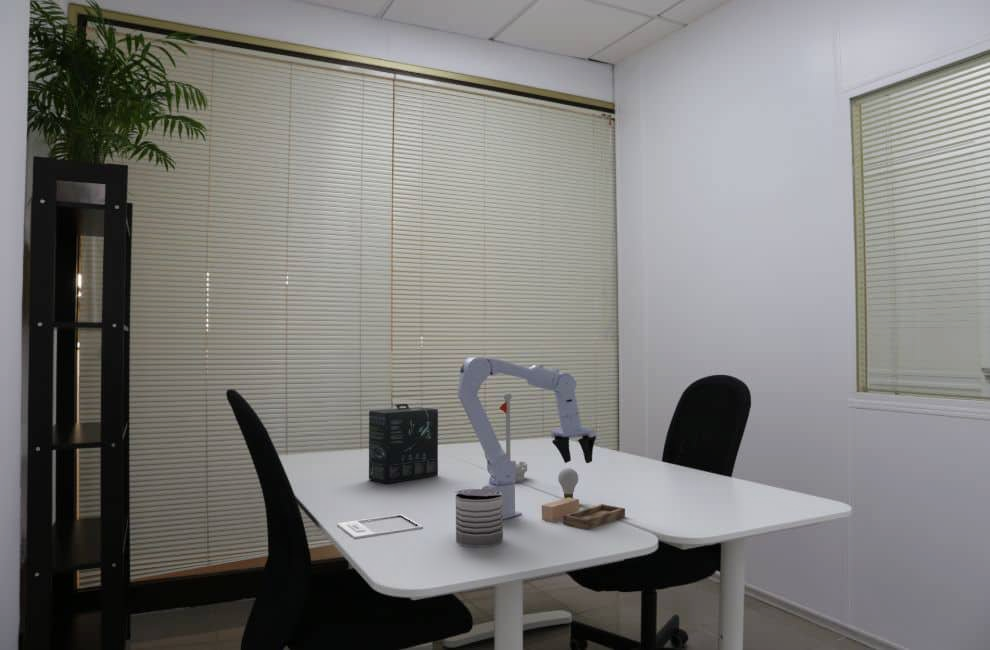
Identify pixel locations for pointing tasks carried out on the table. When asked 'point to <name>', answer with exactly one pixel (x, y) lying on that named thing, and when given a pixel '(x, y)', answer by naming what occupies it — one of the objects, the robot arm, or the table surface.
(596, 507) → the wooden tray
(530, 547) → the table surface
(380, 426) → the headset box
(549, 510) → the block
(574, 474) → the light bulb
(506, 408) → the flag stand
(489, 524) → the can
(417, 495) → the table surface
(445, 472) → the table surface
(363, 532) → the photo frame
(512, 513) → the robot arm
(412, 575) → the table surface
